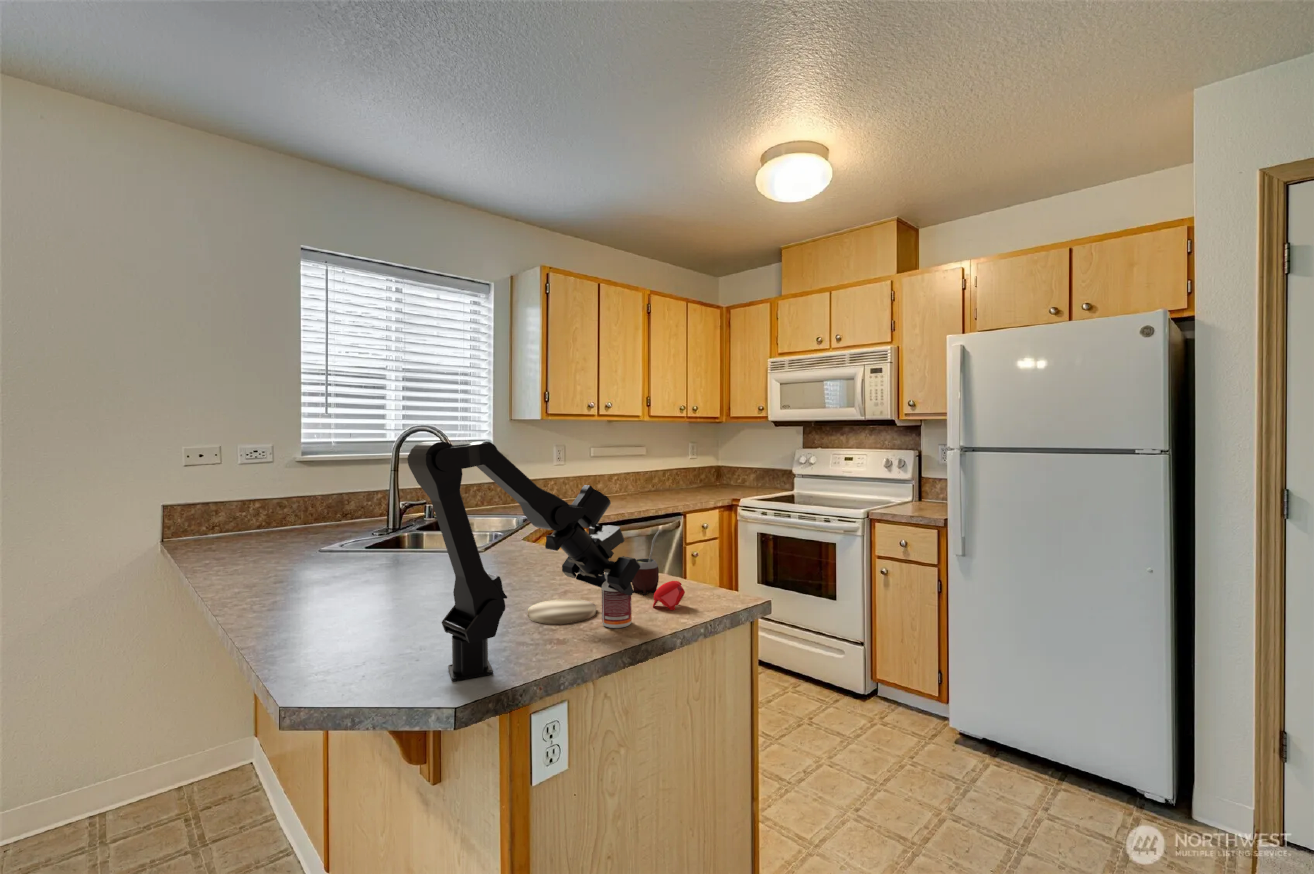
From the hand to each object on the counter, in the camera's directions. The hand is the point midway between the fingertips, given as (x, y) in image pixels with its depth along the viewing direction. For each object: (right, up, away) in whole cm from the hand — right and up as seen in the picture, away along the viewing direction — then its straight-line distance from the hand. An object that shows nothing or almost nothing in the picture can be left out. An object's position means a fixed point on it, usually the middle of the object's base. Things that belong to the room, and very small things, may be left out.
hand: (621, 591), depth 124 cm
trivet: (-14, -7, +7) cm, 17 cm away
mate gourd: (+5, -7, +25) cm, 26 cm away
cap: (+10, -7, +11) cm, 16 cm away
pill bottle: (-1, -7, -1) cm, 7 cm away
